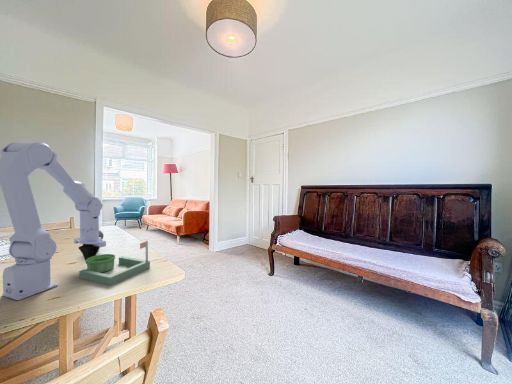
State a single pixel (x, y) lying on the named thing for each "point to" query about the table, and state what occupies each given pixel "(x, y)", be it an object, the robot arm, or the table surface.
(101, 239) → the light bulb
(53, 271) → the table surface
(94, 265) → the ramekin
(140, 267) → the green tray with flag
